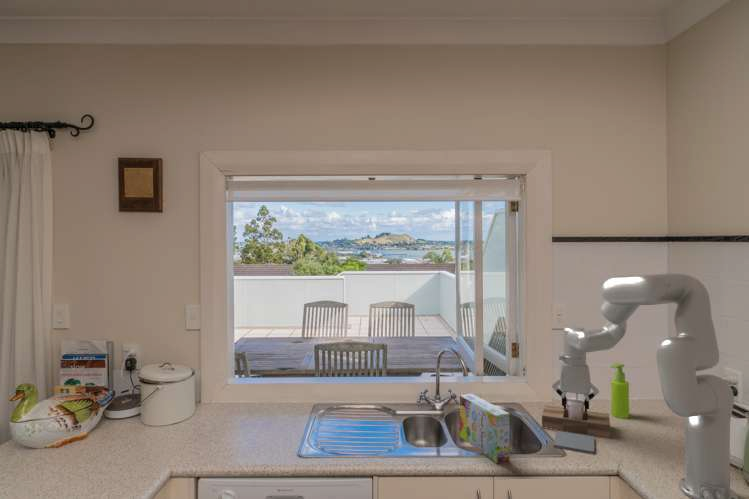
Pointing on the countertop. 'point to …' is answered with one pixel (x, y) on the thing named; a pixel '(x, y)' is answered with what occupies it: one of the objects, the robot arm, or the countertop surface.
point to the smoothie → (575, 407)
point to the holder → (576, 422)
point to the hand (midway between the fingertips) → (575, 408)
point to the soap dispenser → (620, 393)
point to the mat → (574, 442)
